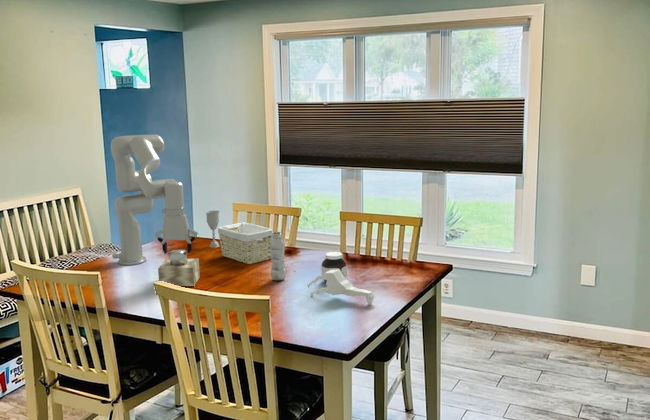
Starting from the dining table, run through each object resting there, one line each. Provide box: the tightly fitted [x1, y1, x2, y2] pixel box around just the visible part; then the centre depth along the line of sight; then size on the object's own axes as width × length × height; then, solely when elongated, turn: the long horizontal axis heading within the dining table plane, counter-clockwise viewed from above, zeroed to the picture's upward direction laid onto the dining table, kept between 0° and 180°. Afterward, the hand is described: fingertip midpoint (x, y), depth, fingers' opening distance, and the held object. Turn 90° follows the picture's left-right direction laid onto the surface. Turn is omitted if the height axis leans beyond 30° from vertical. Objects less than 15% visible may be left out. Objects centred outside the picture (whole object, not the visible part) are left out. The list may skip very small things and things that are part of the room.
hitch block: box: [157, 257, 201, 287], centre depth 254 cm, size 14×14×8 cm
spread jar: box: [320, 251, 348, 283], centre depth 251 cm, size 12×11×12 cm
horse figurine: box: [306, 270, 375, 306], centre depth 228 cm, size 5×16×25 cm
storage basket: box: [217, 221, 274, 265], centre depth 289 cm, size 24×16×15 cm
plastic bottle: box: [269, 231, 287, 281], centre depth 252 cm, size 6×7×20 cm
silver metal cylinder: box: [168, 249, 188, 266], centre depth 253 cm, size 7×7×12 cm
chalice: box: [204, 210, 220, 248], centre depth 312 cm, size 7×7×18 cm
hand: (177, 252), depth 253 cm, fingers open, 9 cm apart
